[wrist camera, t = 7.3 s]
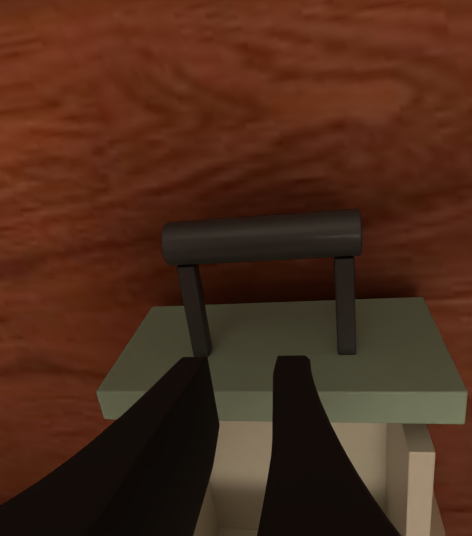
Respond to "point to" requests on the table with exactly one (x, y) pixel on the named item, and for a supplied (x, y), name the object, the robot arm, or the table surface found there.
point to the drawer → (321, 358)
